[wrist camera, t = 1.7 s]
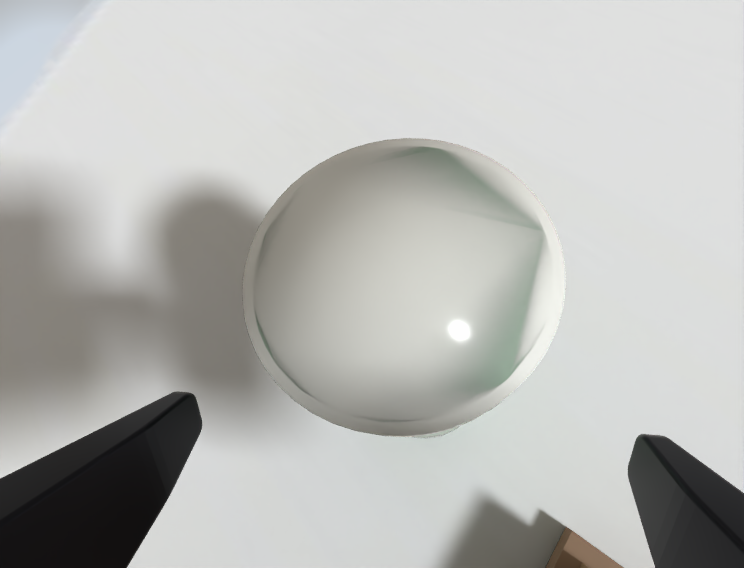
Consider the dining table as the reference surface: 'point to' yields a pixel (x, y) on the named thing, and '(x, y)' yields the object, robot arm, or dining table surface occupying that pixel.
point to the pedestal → (578, 554)
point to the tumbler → (404, 287)
